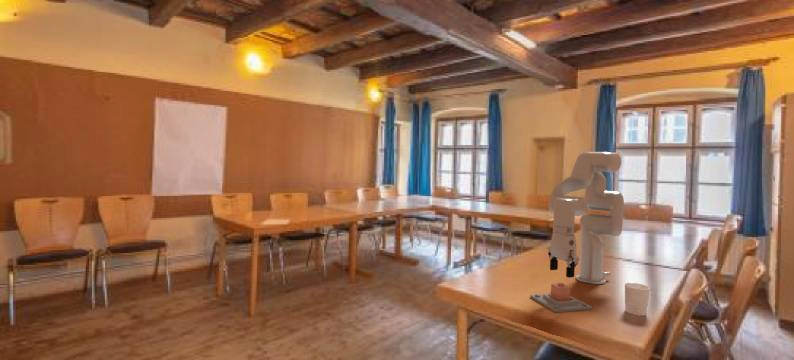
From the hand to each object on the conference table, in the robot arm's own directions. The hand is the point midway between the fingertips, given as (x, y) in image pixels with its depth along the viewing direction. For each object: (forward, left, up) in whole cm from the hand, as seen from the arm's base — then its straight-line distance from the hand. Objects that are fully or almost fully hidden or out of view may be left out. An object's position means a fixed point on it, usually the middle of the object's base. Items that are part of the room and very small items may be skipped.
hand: (561, 273), depth 154 cm
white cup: (-22, +14, -12) cm, 29 cm away
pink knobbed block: (0, 0, -11) cm, 11 cm away
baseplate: (0, 0, -12) cm, 12 cm away
